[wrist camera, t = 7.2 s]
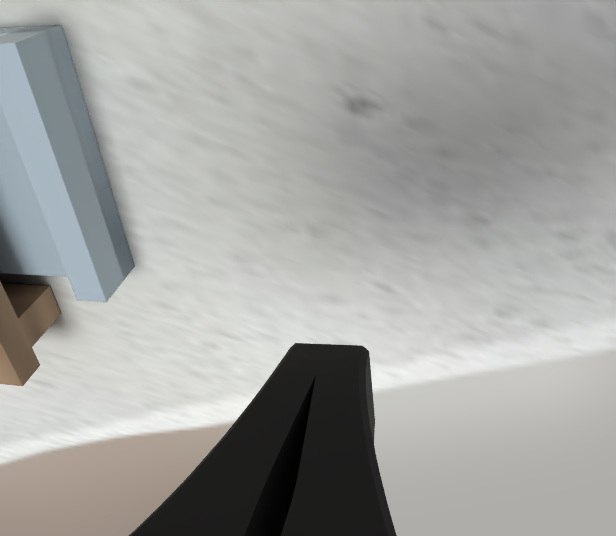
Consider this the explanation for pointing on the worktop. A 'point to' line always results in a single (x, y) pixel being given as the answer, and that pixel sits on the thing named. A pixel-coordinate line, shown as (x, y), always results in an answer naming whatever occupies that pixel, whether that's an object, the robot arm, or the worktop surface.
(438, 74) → the worktop surface
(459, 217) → the worktop surface
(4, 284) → the bench
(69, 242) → the light blue lipped plate
